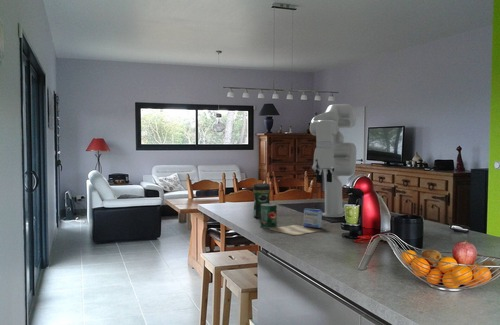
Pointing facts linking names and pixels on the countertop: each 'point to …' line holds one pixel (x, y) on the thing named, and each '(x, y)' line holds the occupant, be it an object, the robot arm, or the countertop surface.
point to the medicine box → (312, 218)
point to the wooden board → (294, 230)
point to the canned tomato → (268, 215)
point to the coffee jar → (260, 197)
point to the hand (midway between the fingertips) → (324, 182)
